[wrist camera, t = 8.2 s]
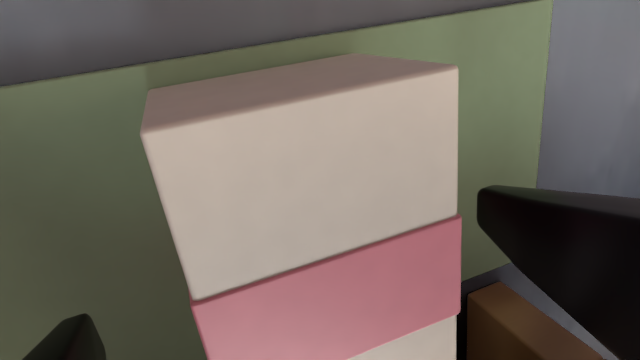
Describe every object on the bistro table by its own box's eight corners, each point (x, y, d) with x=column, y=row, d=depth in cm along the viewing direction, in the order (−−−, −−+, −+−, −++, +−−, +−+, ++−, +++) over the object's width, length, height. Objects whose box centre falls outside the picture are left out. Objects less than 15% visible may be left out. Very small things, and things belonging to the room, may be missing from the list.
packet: (356, 51, 10) (465, 63, 6) (378, 302, 13) (460, 405, 10) (144, 89, 9) (133, 131, 5) (225, 360, 12) (254, 505, 8)
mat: (542, -2, 12) (554, -3, 12) (522, 250, 16) (530, 255, 15) (-413, 153, 6) (-446, 160, 6) (-108, 490, 10) (-118, 507, 10)
